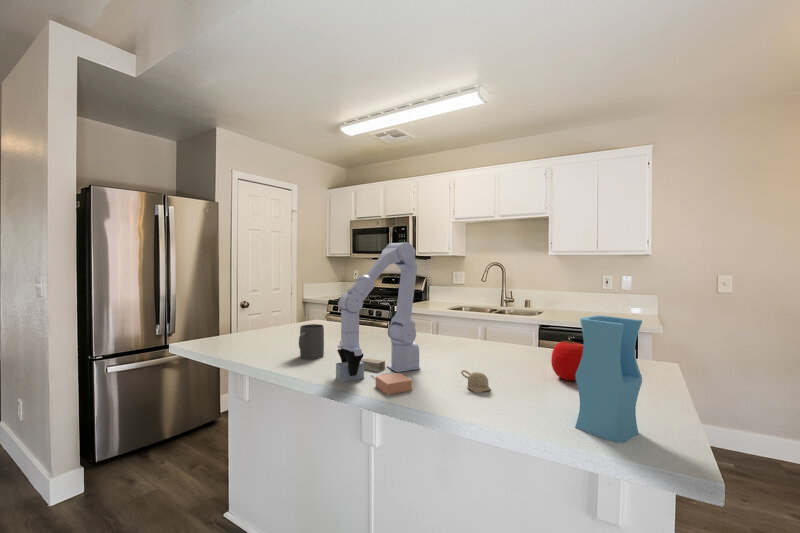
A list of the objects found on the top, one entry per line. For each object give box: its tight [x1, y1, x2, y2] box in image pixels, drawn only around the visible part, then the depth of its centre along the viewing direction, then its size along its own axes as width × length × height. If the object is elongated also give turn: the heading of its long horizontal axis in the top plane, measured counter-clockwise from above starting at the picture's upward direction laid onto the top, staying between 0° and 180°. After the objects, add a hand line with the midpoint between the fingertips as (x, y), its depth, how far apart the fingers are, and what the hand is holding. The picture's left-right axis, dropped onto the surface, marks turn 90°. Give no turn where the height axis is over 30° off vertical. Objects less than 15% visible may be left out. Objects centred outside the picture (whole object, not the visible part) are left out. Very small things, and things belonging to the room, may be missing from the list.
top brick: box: [335, 361, 365, 383], centre depth 122 cm, size 8×4×5 cm, turn 118°
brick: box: [361, 357, 386, 372], centre depth 133 cm, size 4×8×3 cm, turn 63°
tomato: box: [550, 339, 584, 382], centre depth 121 cm, size 12×12×13 cm
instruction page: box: [370, 371, 395, 380], centre depth 124 cm, size 8×6×1 cm
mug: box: [298, 323, 325, 360], centre depth 147 cm, size 14×9×12 cm
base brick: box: [375, 372, 413, 395], centre depth 112 cm, size 8×8×3 cm
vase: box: [574, 315, 643, 444], centre depth 85 cm, size 10×10×25 cm
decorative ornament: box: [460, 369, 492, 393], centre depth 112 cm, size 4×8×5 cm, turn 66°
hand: (350, 373), depth 122 cm, fingers open, 5 cm apart
